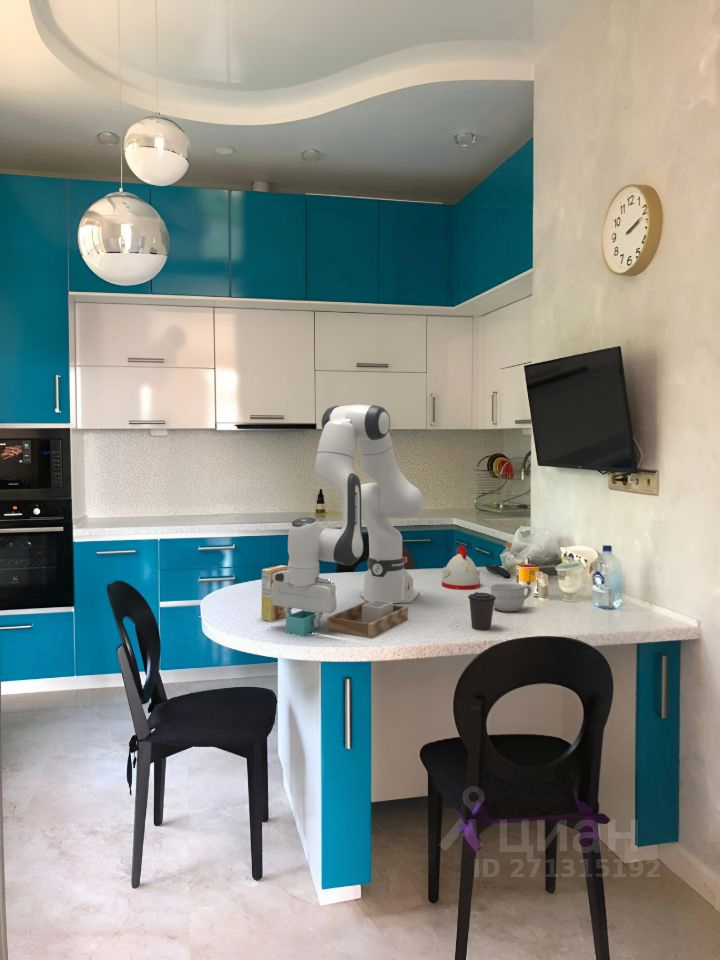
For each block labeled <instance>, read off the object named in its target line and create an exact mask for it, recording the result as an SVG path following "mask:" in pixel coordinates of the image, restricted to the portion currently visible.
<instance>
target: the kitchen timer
mask: <svg viewBox="0 0 720 960" xmlns="http://www.w3.org/2000/svg"><path fill="white" fill-rule="evenodd" d="M467 554H468V551H467V548H466V546H464V545H461V544H460V545H459V547H457V549H456V555H454V556H453V557H452V558H451V559H450V560H449V561H448V563H447V565H445V566H443V570H442V577H441V586H442V587H443V588H446V589H449V590H456V591H460V590H461V591H471V590H473V591H474V590H477V589H480V588H481V587H480V586H481V580H480V578H481V577H480V576H481V575H480V569H479V568H480V567H477V566H476V564H475V562H474V561H473V559H472V558H470V557H469V556H468V555H467Z"/></svg>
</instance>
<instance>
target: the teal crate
mask: <svg viewBox="0 0 720 960" xmlns="http://www.w3.org/2000/svg"><path fill="white" fill-rule="evenodd" d="M316 616H317V615H315V612H314V611H308V610H301V609H300V610H298V611H297V612H294V613H293V612H292V614H291V615H288V616H286V617H285V634H286V633H289V634H288V635H292V634H295V635H294V636H297V635H301V636H300V637H303V636H304V637H306V636H308V635H307V634H309V635H310V633H311V634H313V633H312V632H313V630H316V629H318V628H320V627H321V619H320V620H319V626H318V627H312V626H311V625H312V623H311V621H312V620H314V619H315V618H316ZM305 635H306V636H305Z"/></svg>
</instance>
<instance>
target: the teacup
mask: <svg viewBox="0 0 720 960" xmlns="http://www.w3.org/2000/svg"><path fill="white" fill-rule="evenodd" d="M525 589H527V592H526V594H525ZM490 594H491V595H494V596H495V598H496V600H494V607H495V608H496V610H498V611H501V612H517V611H519V610H520V609H521V608H522V607H523V606H524V605H525V600H527V599H528V598H529V597H530V596H531V594H532V587H531V586H530V585H529V584H519V583H513V582H511V583H510V582H508V583H506V582H501V583H499V582H498V583H493V584H491V585H490ZM494 607H493V608H494Z"/></svg>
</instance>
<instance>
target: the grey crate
mask: <svg viewBox="0 0 720 960" xmlns="http://www.w3.org/2000/svg"><path fill="white" fill-rule="evenodd" d="M368 602H369V603H367V604H364V605H362V622H365V623H372V622H374V621H376V620H378V619H380V618H382V617H384V616H386V615H388V614H391V613H393V605H394V603H393V602H388V601H380V600H374V601H371V602H370V601H368Z"/></svg>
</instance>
